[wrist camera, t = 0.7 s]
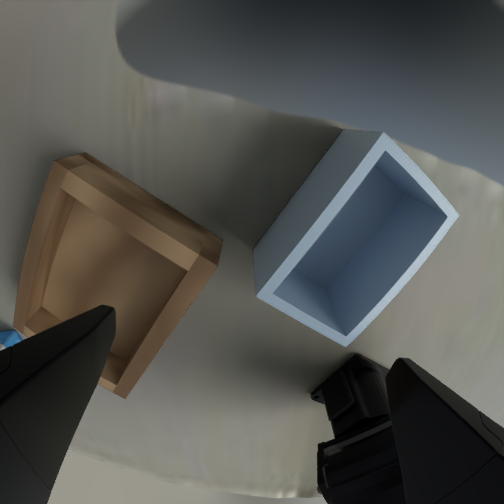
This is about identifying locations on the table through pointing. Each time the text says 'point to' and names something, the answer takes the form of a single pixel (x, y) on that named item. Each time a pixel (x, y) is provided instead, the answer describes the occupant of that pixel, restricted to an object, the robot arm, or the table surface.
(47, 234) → the walnut crate
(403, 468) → the robot arm
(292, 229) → the blue crate
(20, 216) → the table surface
